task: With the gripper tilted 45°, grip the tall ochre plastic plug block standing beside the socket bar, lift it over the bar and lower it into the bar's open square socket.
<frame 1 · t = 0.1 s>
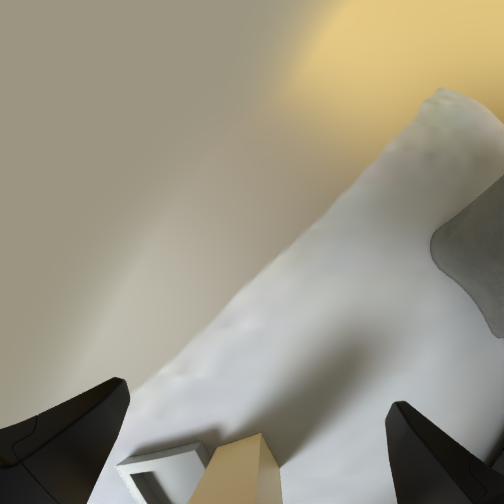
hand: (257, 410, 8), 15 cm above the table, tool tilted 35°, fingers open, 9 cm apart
flask: (477, 282, 23), on the table
plug: (248, 458, 20), on the table
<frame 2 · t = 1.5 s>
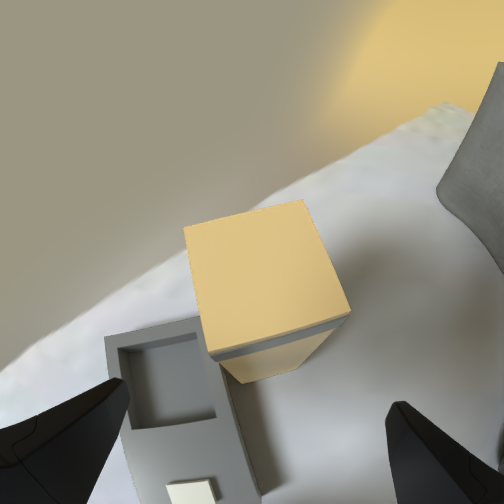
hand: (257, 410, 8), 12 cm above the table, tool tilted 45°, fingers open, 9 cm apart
flask: (481, 228, 25), on the table
socket bar: (182, 423, 18), on the table
plug: (261, 351, 21), on the table
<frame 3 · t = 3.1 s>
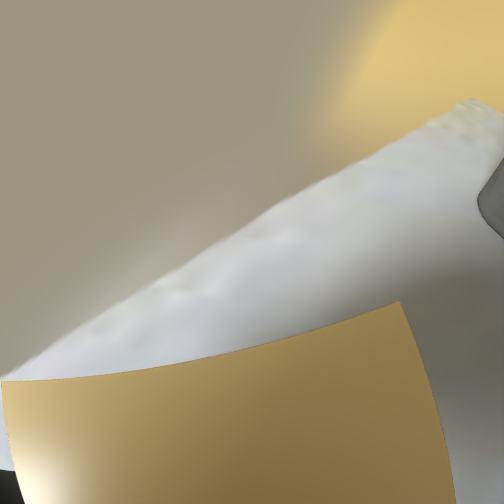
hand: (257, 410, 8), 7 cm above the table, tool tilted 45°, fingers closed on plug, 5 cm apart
plug: (256, 431, 13), on the table, touching gripper
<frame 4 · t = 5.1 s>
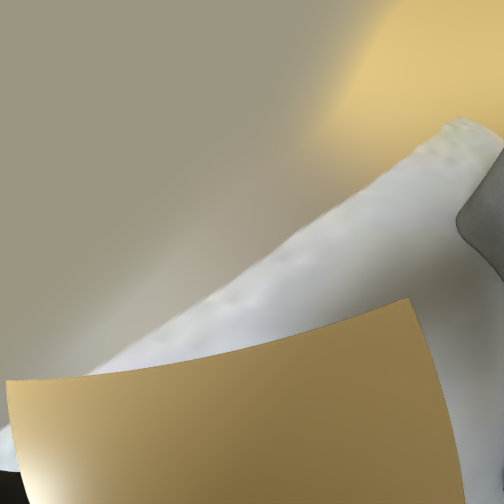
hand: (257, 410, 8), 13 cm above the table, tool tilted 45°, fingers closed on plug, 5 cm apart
flask: (497, 259, 24), on the table
plug: (257, 431, 13), point 6 cm above the table, touching gripper
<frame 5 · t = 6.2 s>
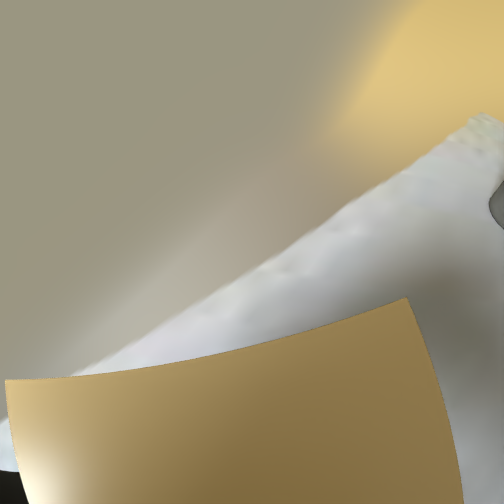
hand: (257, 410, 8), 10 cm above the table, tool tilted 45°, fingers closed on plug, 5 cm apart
plug: (256, 431, 13), point 4 cm above the table, touching gripper
when the fingers open (8 cm above the table, at t = 7.1 s): plug stays where it is, resting on socket bar.
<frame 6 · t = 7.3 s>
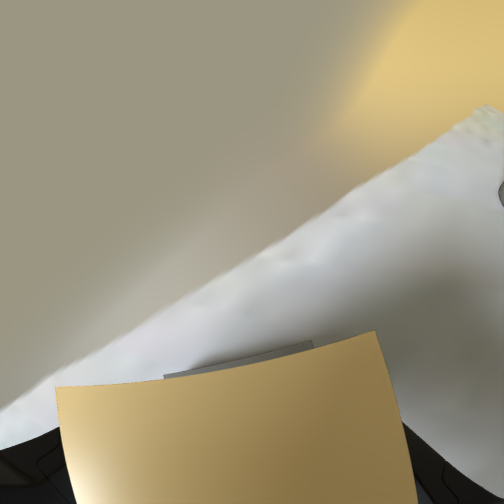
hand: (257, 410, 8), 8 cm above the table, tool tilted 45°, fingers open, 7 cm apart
socket bar: (270, 472, 13), on the table
plug: (257, 430, 14), point 1 cm above the table, touching socket bar
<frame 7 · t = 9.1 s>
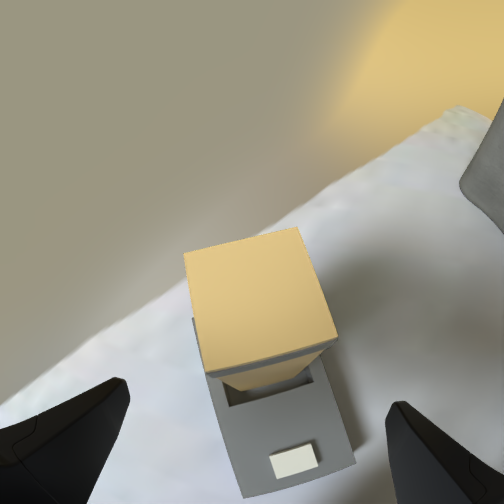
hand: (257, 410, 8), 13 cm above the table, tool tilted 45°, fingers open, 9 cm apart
flask: (497, 217, 28), on the table
socket bar: (271, 396, 20), on the table
plug: (260, 360, 21), resting on socket bar
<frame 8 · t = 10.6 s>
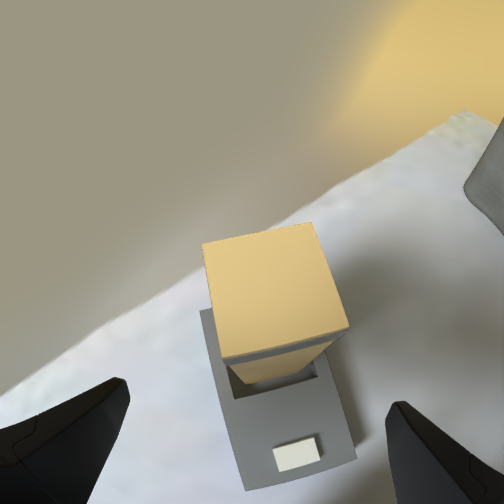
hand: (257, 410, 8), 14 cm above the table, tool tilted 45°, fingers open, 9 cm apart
flask: (500, 222, 28), on the table
socket bar: (275, 390, 21), on the table
plug: (265, 354, 22), resting on socket bar
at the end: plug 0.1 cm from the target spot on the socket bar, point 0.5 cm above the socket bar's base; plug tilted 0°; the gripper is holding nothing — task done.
